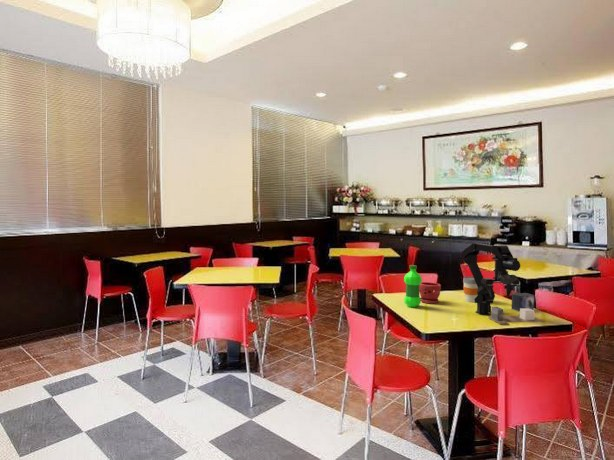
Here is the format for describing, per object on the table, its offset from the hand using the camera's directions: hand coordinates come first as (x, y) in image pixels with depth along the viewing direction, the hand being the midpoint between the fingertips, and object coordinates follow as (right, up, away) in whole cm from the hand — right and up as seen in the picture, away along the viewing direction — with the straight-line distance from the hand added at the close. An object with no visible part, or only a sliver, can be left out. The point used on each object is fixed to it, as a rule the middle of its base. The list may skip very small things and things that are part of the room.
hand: (499, 297), depth 220 cm
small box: (+21, -12, +16) cm, 29 cm away
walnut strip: (+7, -12, -4) cm, 15 cm away
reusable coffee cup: (+3, -10, +43) cm, 44 cm away
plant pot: (-26, -10, +40) cm, 49 cm away
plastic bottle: (-40, -11, +28) cm, 50 cm away
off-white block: (+13, -11, -4) cm, 17 cm away
